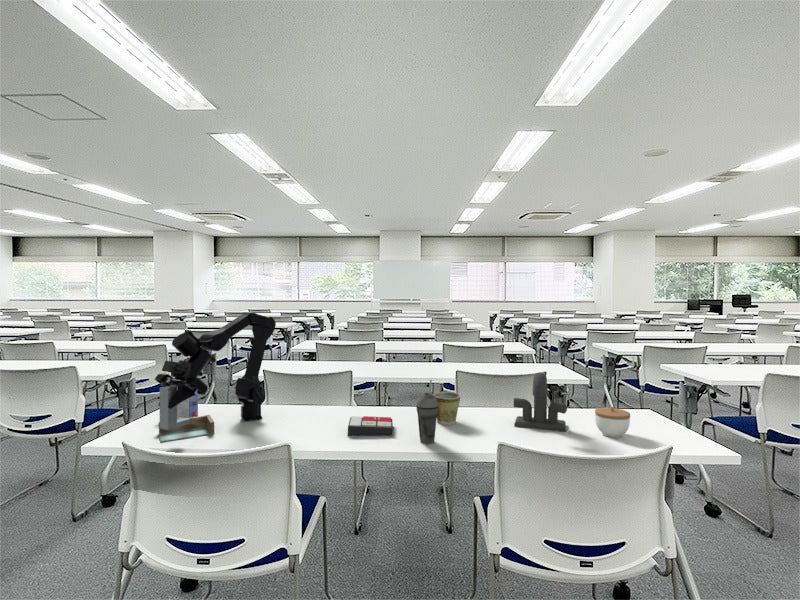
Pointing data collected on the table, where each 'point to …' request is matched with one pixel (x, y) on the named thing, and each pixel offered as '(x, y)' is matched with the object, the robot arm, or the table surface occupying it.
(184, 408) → the ink cartridge box
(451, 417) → the ceramic cup
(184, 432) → the tray
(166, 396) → the angle bracket
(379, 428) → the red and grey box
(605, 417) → the lidded jar
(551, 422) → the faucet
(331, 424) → the table surface
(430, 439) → the beverage cup
